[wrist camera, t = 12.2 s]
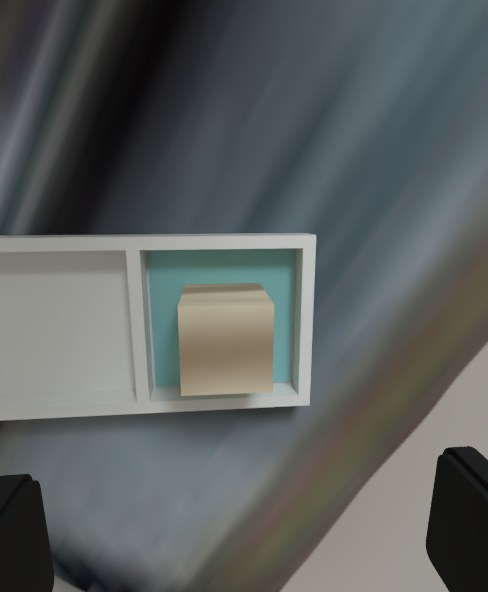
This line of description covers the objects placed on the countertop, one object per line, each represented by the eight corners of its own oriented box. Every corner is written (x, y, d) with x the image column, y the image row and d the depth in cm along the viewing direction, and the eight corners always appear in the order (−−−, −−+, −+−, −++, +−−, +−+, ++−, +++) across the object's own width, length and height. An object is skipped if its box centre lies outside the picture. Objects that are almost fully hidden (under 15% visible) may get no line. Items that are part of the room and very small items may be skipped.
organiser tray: (-42, 235, 23) (-70, 238, 21) (306, 232, 25) (316, 235, 23) (-13, 402, 26) (-36, 422, 24) (300, 388, 28) (309, 405, 26)
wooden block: (185, 284, 25) (177, 306, 19) (259, 282, 25) (274, 304, 19) (187, 354, 26) (181, 395, 20) (258, 352, 26) (272, 392, 20)
